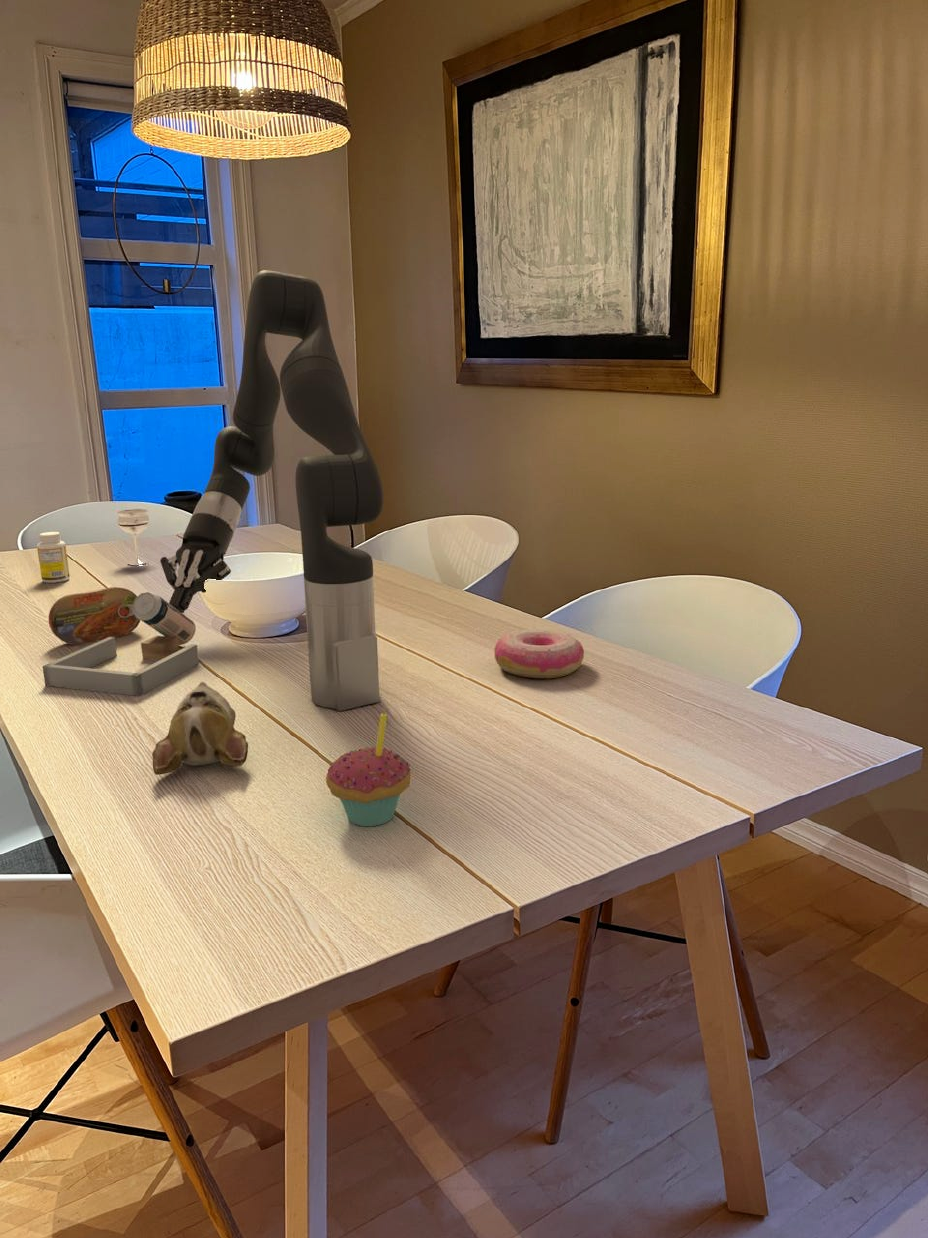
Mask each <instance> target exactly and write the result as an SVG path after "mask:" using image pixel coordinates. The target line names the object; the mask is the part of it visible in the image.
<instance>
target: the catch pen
mask: <svg viewBox="0 0 928 1238" xmlns="http://www.w3.org/2000/svg"><path fill="white" fill-rule="evenodd" d="M116 645H117V644H116V637H108V638H106V639H104V640H100V641H96V642H93V643H92V644H90V645H88V646H85V647H83V648H81V649H79V650H76V651H75V652H71V653H70V654H67V655H65V656H63V657H60V658H59V659H56V660H54V661H51V662H49V663H47V664H45V665H42V672H43V680H44V686H45V687H51V686H55V687H54V688H61V687H65V688H64V689H70V688H72V689H71V690H79V689H81V691H87V692H88V691H89V692H91V691H92V692H98V693H109V694H118V695H125V696H126V695H127V696H135V697H136V696H137V697H140V696H142V695H144V694H146V693H148V692H149V691H152V690H153V689H155V688H157V687H158V686H160V685H162V684H164V683H165V682H167V681H169V680H172V679H173V678H175V677H176V676H178V675H181V674H182V673H184V672H186V671H187V670H189V669H190V668H193V667H194V666H196V665H198V664H199V663H200V662H199V651H198V644H193V643H191V644H189V645H187V646H185V647H183V648H180V649H179V651H177V652H175V653H173V654H171V655H169V656H167V657H165V658H163V659H161V660H160V661H159V660H157V661H156V662H154V663H152V664H150V665H147V666H146V667H144V668H142V669H141V670H138V671H137V672H128V671H119V670H109V669H100V668H93V667H96V666H97V665H99V664H102V663H104V662H106V661H108V660H110V659H113V658H114V657H116V656H118V655H117V654H118V653H117V646H116Z"/></svg>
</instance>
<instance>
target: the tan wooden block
mask: <svg viewBox="0 0 928 1238" xmlns="http://www.w3.org/2000/svg"><path fill="white" fill-rule="evenodd" d="M140 649H141V655H142V660H148V661H149V660H150V661H151V660H152V661H160V660H161V659H163V658H165V657H167V656H169V655H171V654H173V653H175V652H177V651H179V650H180V645H178V637H167V636H163V635H154V636H152V637H151V638H148V639H146V640H145V641H144V640H143V641H142V642H140Z"/></svg>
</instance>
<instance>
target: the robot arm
mask: <svg viewBox="0 0 928 1238" xmlns="http://www.w3.org/2000/svg"><path fill="white" fill-rule="evenodd" d="M248 295H249V296H248V300H247V301H248V303H247V309H246V319H245V320H246V321H245V329H244V330H245V331H244V339H243V348H242V349H243V352H242V363H241V365H242V367H241V373H240V374H241V376H240V381H239V387H238V391H237V393H236V394H237V395H236V399H235V403H234V407H233V411H232V422H233V424H234V425H235V426H234V425H228V426H226V427H223V428H222V429H221V430H220V431H219V432H218V433H217V434H216V435H217V436H216V439H215V442H214V451H213V453H214V455H213V465H212V471H211V475H210V477H209V480H208V483H207V484H206V487H205V490H204V492H203V494H202V496H201V498H200V499H199V501H198V502H197V504H196V506H195V508H194V510H193V513H192V514H191V517H190V520H189V522H188V525H187V526H186V529H185V531H184V533H183V536H182V544H181V546H180V547H179V548H178V549H177V550H176V552H175V555H173V556H172V557H170V558H169V557H168V558H167V557H166V556H162V557H161V558H160V561H159V562H160V565H161V568H162V570H163V573H164V576H165V578H166V582H167V583H168V584H169V585H170V586H171V588H172V589H173V590H174V591H173V592H172V595H171V597H170V598H169V599H170V600H169V602H168V603H169V604H170V605H172V606H173V607H174V608H176V609H177V610H178V611H180V612H181V613H182V614H184V613H185V612H186V611H187V610H188V609H189V607H190V605H191V603H192V599H193V597H194V596H195V595H196V594H197V593H199V592H201V593H207V592H206V590H205V589H204V584H205V583H206V582H205V580H207V579H209V580H210V579H216V580H221V581H223V580H224V579H225V578H227V577H228V576H229V575H230V574H231V572H232V570H231V568H230V567H229V565H228V564H227V563H226V562H225V561H224V560H225V558H224V557H225V555H226V554H227V551H228V549H229V547H230V544H231V542H232V539H233V537H234V534H235V532H236V530H237V527H238V525H239V521H240V517H241V513H242V511H243V509H244V505H245V503H246V501H247V499H248V496H249V494H250V489H251V484H250V482H249V480H248V479H247V478H246V477H245V476H244V475H243V474H242V473H240V472H239V471H241V472H243V473H246V474H249V475H251V476H255V477H260V476H263V475H265V474H267V473H268V472H269V470H270V471H271V467H272V465H273V463H274V460H275V443H274V442H275V441H274V423H275V422H274V421H275V418H276V414H277V412H278V408H279V404H280V399H281V395H282V396H283V402H284V405H285V409H286V411H287V414H288V415H289V417H290V419H291V420H292V421H293V423H295V425H296V426H298V427H299V428H300V429H301V430H302V431H303V432H304V433H305V434H307V435H308V436H309V437H311V438H312V439H313V440H314V441H316V442H317V443H319V444H320V445H322V446H323V447H324V448H326V449H328V451H330V452H331V453H332V454H327V455H323V454H322V455H311V456H304V457H302V458H301V459H300V460H299V461H298V463H297V466H296V468H295V482H294V483H295V493H296V494H295V495H296V501H297V502H296V503H297V510H298V518H299V519H298V520H299V528H300V538H301V540H300V541H301V553H302V554H301V555H302V565H303V567H302V568H303V584H304V585H303V586H304V599H305V601H304V604H305V618H306V619H305V621H306V635H307V637H306V638H307V651H308V652H307V653H308V667H309V678H310V679H309V682H310V696H311V697H310V699H311V701H312V703H313V704H315V705H317V706H320V707H323V708H329V709H335V710H337V711H347V710H349V709H353V708H358V707H363V706H366V705H371V704H376V703H379V702H380V682H379V680H380V678H379V677H380V675H379V657H378V656H379V655H378V651H379V650H378V637H377V635H376V614H375V611H376V610H375V607H376V606H375V587H374V583H375V582H374V561H373V558H372V555H371V554H369V552H366V551H364V550H362V549H359V548H355V547H351V546H349V545H348V546H347V545H344V544H342V543H339V542H337V541H335V540H333V539H332V538H330V537H329V535H328V533H327V528H331V527H332V528H333V527H345V526H346V527H347V526H357V525H359V526H360V525H364V524H369V523H372V522H374V521H376V520H378V518H379V517H380V515H381V513H382V511H383V506H384V490H383V484H382V480H381V476H380V473H379V469H378V467H377V464H376V462H375V461H376V460H375V459H374V457H373V454H372V453H371V451H370V447H369V446H368V443H367V441H366V439H365V436H364V434H363V432H362V430H361V428H360V425H359V423H358V419H357V417H356V412H355V410H354V406H353V403H352V399H351V396H350V392H349V387H348V384H347V381H346V378H345V374H344V372H343V368H342V367H341V363H340V361H339V358H338V355H337V352H336V348H335V346H334V342H333V338H332V334H331V330H330V329H331V328H330V325H329V319H328V314H327V306H326V302H325V298H324V294H323V291H322V288H321V286H320V285H319V283H318V282H317V281H315V280H314V279H312V278H310V277H307V276H304V275H297V274H291V273H285V272H281V271H280V272H279V271H276V270H275V271H274V270H267V269H266V270H265V269H264V270H260V271H259V272H258V273H256V275H255V277H254V278H253V281H252V283H251V287H250V291H249V294H248ZM266 334H272V335H273V334H274V335H280V336H287V337H294V338H298V339H301V341H300V342H299V343H298V344H297V345H296V346H295V347H294V348H293V349H292V350H291V351H290V353H289V354H288V355H287V357H286V358H285V360H284V361H283V363H282V366H281V369H280V372H279V377H278V374H277V371H276V370H275V368H274V365H273V363H272V362H271V360H270V357H269V354H268V351H267V347H266V336H267V335H266ZM281 393H282V394H281ZM237 470H238V471H237ZM176 571H177V573H176ZM207 581H208V580H207Z"/></svg>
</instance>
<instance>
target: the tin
mask: <svg viewBox="0 0 928 1238" xmlns="http://www.w3.org/2000/svg"><path fill="white" fill-rule="evenodd" d="M136 597H138V595H137V594H136V593H135V592H133V591H132V590H130V589H127V588H124V587H119V586H118V587H116V586H111V587H106V588H105V587H104V588H100V589H96V590H90V591H85V592H80V593H78V592H77V593H72V594H68V595H64V596H62V597H60V598H59V599H57V600H56V601H55V602H54V603H53V605H52V606H51V608H50V610H49V613H48V625H49V628H50V630H51V632H52V634H54V636H56V638H58V639H59V640H60V641H61V642H64V643H65V644H67V645H70V646H71V645H72V646H81V645H87V644H91V643H96V642H99V641H101V640H104V639H106V638H108V637H115V638H118V637H119V638H120V637H123V636H126V635H129V634H130V633H132V632H133V631H134V630H136V628H137V627H138V626H139V625H140V623H141V620H139V619H138V618H136V616H135V615H134V611H133V606H132V605H133V603H134V600H135V598H136ZM90 642H91V643H90ZM80 644H81V645H80Z"/></svg>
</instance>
